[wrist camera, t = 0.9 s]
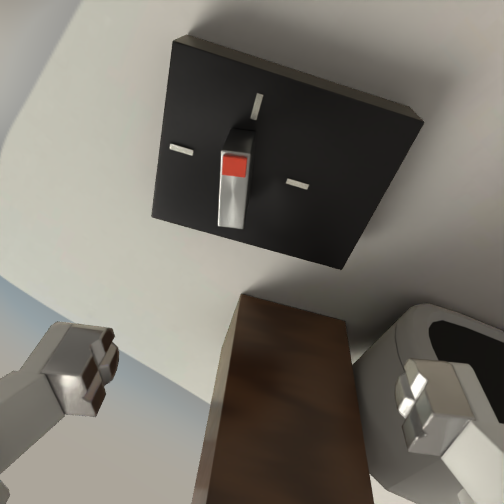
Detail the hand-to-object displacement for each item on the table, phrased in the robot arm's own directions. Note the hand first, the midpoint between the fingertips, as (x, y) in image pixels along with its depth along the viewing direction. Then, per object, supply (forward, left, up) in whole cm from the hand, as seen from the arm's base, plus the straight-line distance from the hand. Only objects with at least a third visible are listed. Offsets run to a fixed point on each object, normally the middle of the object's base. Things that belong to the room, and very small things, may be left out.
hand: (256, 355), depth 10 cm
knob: (-2, -1, -14) cm, 14 cm away
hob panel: (0, -1, -17) cm, 17 cm away
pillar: (+6, -18, -17) cm, 26 cm away
